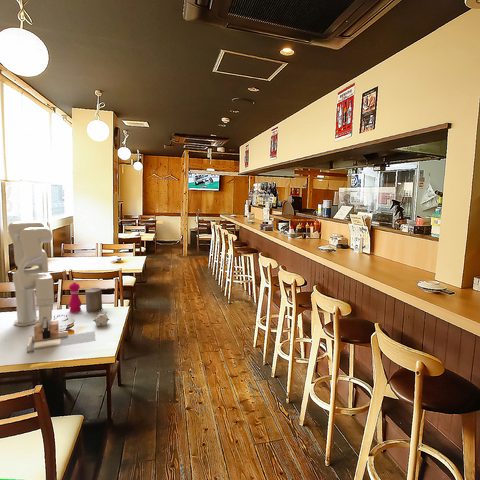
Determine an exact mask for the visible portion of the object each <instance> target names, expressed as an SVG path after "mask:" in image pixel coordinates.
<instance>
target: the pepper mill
mask: <svg viewBox="0 0 480 480" xmlns="http://www.w3.org/2000/svg"><path fill="white" fill-rule="evenodd" d="M68 289H69V290H70V295H71V297H70V300H69V302H68V307H69V308H70V309H69V312H70V313H73V314H75V313H79V312H81V305H82V301H81V300H80V297H79V293H80V291H79V290H80V284H79V283H78V282H77V281H75V280H73V281H72V283H71V284H70V285H69V287H68Z"/></svg>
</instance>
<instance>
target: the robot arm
mask: <svg viewBox="0 0 480 480" xmlns="http://www.w3.org/2000/svg"><path fill="white" fill-rule="evenodd" d="M7 232H8V236H9V238H10V239H11V241H12V246H13V255H14V256H13V257H14V264H15V266H16V267H17V270H16V271H14V272H13V274H12V282H13V286H14V290H15V302H16V304H15V305H16V318H17V319H16V320H14V322H13V323H14V325H15V326H17V327H25V326H32V325H35V323H39V326H42V324H43V331H42V333H43V339H47V338H50V330H49V325H50V324H51V321H53V320H52V318H53V309H52V308H53V307H52V306H53V305H54V304H55V291H54V279H53V276H52V275H51V273H49V261H48V259H49V258H48V255H47V252H46V251H45V250H44V249H43V246H42V244H45V243H50V242H51V241H52V239H53V234H52V231H51V228H50V227H49V226H48V225H47V224H46V223H45V222H44V221H41V220H35V221H34V220H33V221H30V220H29V221H13V222H10V223H9V224H8V225H7ZM29 267H32V268H29ZM37 307H38V315H37ZM47 323H48V324H47ZM47 326H48V327H47Z"/></svg>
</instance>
